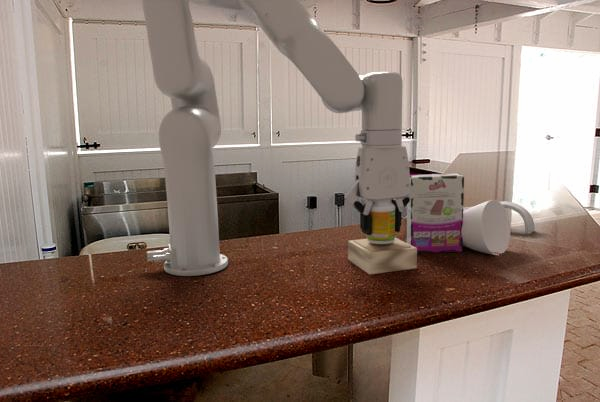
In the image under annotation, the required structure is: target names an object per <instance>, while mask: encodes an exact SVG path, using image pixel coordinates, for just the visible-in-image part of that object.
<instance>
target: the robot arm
mask: <svg viewBox="0 0 600 402" xmlns="http://www.w3.org/2000/svg"><path fill="white" fill-rule="evenodd" d="M141 3H142V11H143V16H144V22H145V27H146V33H147V43H148V47H149V52H150V60H151V65H152V71H153V73H152V74H153V78H154V79H153V80H154V82H155V85H156V87H157V89H158V90H159V91H160V93H162V94H163V95H165V96H166V97H168V98H170V102H171V107H172V109H171V110H169V112H167V113H166V114H165V115H164V117H163V118H162V120H161V122H160V125H159V129H158V142H159V147H160V148H159V149H160V153H161V154H160V155H161V159H162V165H163V171H164V179H165V191H166V202H167V203H166V205H167V217H168V228H169V229H168V230H169V243H168V244H167V245H168V247H163V250H149V251H148V250H147V251H146V257H147V262H152V261H153V262H154V263H155V264H156V263H161V262H164V263H163V270H164V271H165V273H167V274H170V275H173V276H180V277H195V276H203V275H205V276H206V275H210V274H214V273H217V272H220V271H222V270H224V269H225V268H226V267H227V266H228V264H229V259H228V257H227V256H226V255H225V254H221V253H220V249H221V248H220V236H219V233H220V231H219V217H218V216H219V215H218V200H217V196H218V195H217V185H216V184H217V183H216V182H217V181H216V170H215V162H214V155H213V148H214V147H215V146H216V145H217V144H218V142H219V140H220V139H221V138H220V137H221V133H222V125H221V117H220V109H219V104H218V98H217V91H216V86H215V79H214V75H213V72H212V70H211V67H210V65H209V64H208V62H207V61H206V60H205V59H204V58H203V57H202V56H201V55H199V50H198V45H197V42H196V41H197V39H196V35H195V24H194V21H193V16H192V13H191V9H190V8H191V7H190V3H193V4H194V5H199V6H203V7H210V8H217V9H223V10H227V11H228V10H229V11H235V12H245V13H249V15H250V16H251V18H252V19H253V20H254V21H255V22H256V24H257V25H258V26H259V28H260V29H261V30H262V31H263V32H264V35H265V36H266V37H268V39H269V40H270V42H272V44H273V45H274V47H275V48H276V49H277V50H278V52H279V53H281V54H282V55H283V56H285V58H287V59H288V60H289V61H290V62H291V63H292V64H293V65H294V66H295V67H296V68H297V70H298V71H299V72H300V73H301V74H302V75H303V77H304V78H305V79H306V81H308V82H309V85H311V87H312V88H313V89H314V91H315V92H316V94H318V96H319V98H321V102H322V103H323V105H324V107H325V108H326V109H327V110H329V111H330V112H332V113H336V114H347V113H350V112H358V111H361V130H360V133H356V134H355V137H354V138H355V141H356V142H360V145H361V146H358V150H357V154H356V160H355V167H354V176H353V177H354V179H353V181H354V182H353V184H352V185H351V186H350V188H349V189H348V190H347V192H346V193H345V194H344V199H345V200H346V201H347V202H348V203H349V204H350V205H352V207H353V208H355V210H357V212H358V213H359V227H360V231H361V232H362V233H363V234H365V235H366V236H367V235H371V234H372V215H370V214H369V212H370V208H371V205H372V202H373V201H375V200H388V199H392V200H390V202H391V203H392V204H394V206H395V233H400V232H401V227H402V213H403V212H404V211H405V207H407V204H408V203H409V202H410V200H411V199H412V198H413V197H414V196H415V195H416V194H417V191H416V190H415V189H414V187H413V186H412V185H411V184H410V175H411V173H410V164H409V156H408V150H407V146H405V145H402V140H403V139H402V136H403V88H404V87H403V85H404V84H403V78H402V75H401V74H400V73H398V72H394V71H377V72H376V71H375V72H374V71H373V72H369V73H366V74H365V75H360V74H359V73H358V72H357V70H356V69H355V68H354V66H353V65H352V64H351V62H349V60H348V59H347V57H345V55H344V54H343V52H342V51H341V50H340V48H338V46H337V44H336V43H334V41H333V40H332V38H330V37H329V35H328V34H327V33H326V32H325V31H324V30H323V28H322V27H321V25H320V24H319V23H318V22H317V20H316V19H315V18H314V17H313V16H312V14H311V13H310V12H309V11H308V9H307V8H306V7H305V6H304V4H303V3H302V2H301V0H141ZM356 197H359V198H360V201H359V199H357V198H356Z"/></svg>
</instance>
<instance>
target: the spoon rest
mask: <svg viewBox="0 0 600 402" xmlns="http://www.w3.org/2000/svg"><path fill="white" fill-rule="evenodd" d="M499 202H500V203H501V204H502V205H503V206H504V208H505V209H509V210H512V211H514V212H516V213H518V214H519V216H520V217H522V220H523V223H524V231H525V232H524V233H525V234H526V235H530V234H532V233H533V232H534V231H535V221H534V218H533V216H532V214H531V213H530V212H529V211H528V209H526V208H525V207H523V206H522V205H519V204H518V203H515V202H512V201H502V200H501V201H499ZM472 207H473V206H463V211H465V210H467V209H469V208H472Z"/></svg>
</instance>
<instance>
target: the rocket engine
mask: <svg viewBox="0 0 600 402" xmlns="http://www.w3.org/2000/svg"><path fill="white" fill-rule="evenodd" d="M500 202H501V201H498V200H497V199H490V200H487V201H484V202H482V203H479V204H477V205H474V206H471V207H472V208H469V209H467V210H465V211H463V225H462V230H461V231H462V238H463V247H465V248H468V249H471V250H474V251H477V252H480V253H484V254H487V255H492V256H500V255H499V254H495V253H492V252H498V253H503V254H504V253H505V252H506V250H507V249H508V246H509V244H510V240H511V224H510V218H509V214H508V213H507V210H506V208H504V206H503V205H502V204H501V203H500ZM491 251H492V252H491Z"/></svg>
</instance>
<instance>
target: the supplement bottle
mask: <svg viewBox="0 0 600 402" xmlns="http://www.w3.org/2000/svg"><path fill="white" fill-rule="evenodd" d="M390 200H392V199H388V200H375V201H373V202H372V205H371V208H370V212H369V214H370V215H372V234H371V235H367V234H366V239H367V240H368V241H369V242H370V243H373V244H390V243H393V242H394V240H395V238H396V232H395V206H394V204H392V203H391V202H390Z"/></svg>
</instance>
